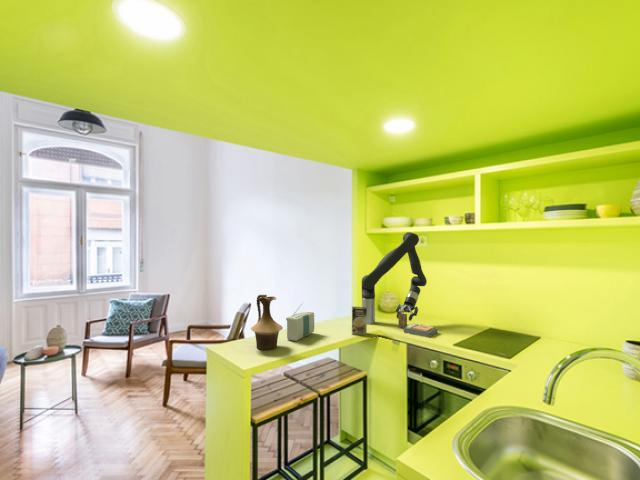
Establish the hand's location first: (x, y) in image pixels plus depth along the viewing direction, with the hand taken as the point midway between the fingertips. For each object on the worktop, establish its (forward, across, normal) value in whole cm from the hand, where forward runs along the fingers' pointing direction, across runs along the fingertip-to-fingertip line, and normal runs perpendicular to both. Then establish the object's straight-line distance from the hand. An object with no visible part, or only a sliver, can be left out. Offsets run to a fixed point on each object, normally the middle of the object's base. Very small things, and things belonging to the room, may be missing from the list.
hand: (403, 319), depth 212 cm
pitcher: (+66, -34, -57) cm, 94 cm away
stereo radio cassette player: (+47, -35, -39) cm, 70 cm away
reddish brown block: (+5, 0, +3) cm, 6 cm away
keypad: (+7, +14, +1) cm, 16 cm away
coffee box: (+27, -13, -18) cm, 35 cm away
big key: (+6, +16, 0) cm, 17 cm away
